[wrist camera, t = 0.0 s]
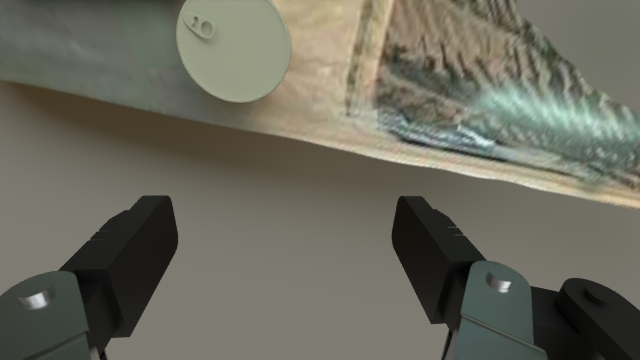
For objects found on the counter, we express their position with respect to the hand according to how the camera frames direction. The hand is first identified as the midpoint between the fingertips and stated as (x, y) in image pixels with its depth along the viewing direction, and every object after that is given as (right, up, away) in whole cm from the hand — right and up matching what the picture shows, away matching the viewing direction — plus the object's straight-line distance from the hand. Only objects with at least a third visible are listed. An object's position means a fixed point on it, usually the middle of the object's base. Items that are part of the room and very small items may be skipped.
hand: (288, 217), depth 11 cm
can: (-7, +17, +24) cm, 30 cm away
